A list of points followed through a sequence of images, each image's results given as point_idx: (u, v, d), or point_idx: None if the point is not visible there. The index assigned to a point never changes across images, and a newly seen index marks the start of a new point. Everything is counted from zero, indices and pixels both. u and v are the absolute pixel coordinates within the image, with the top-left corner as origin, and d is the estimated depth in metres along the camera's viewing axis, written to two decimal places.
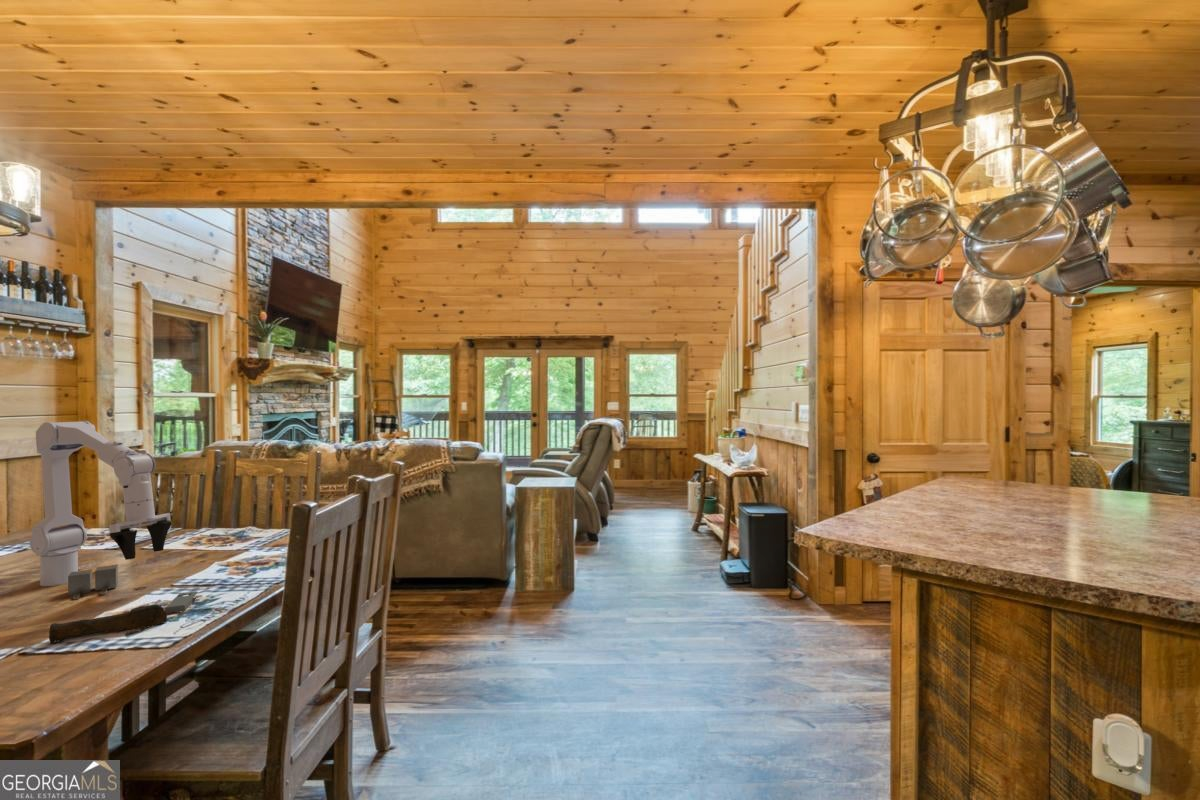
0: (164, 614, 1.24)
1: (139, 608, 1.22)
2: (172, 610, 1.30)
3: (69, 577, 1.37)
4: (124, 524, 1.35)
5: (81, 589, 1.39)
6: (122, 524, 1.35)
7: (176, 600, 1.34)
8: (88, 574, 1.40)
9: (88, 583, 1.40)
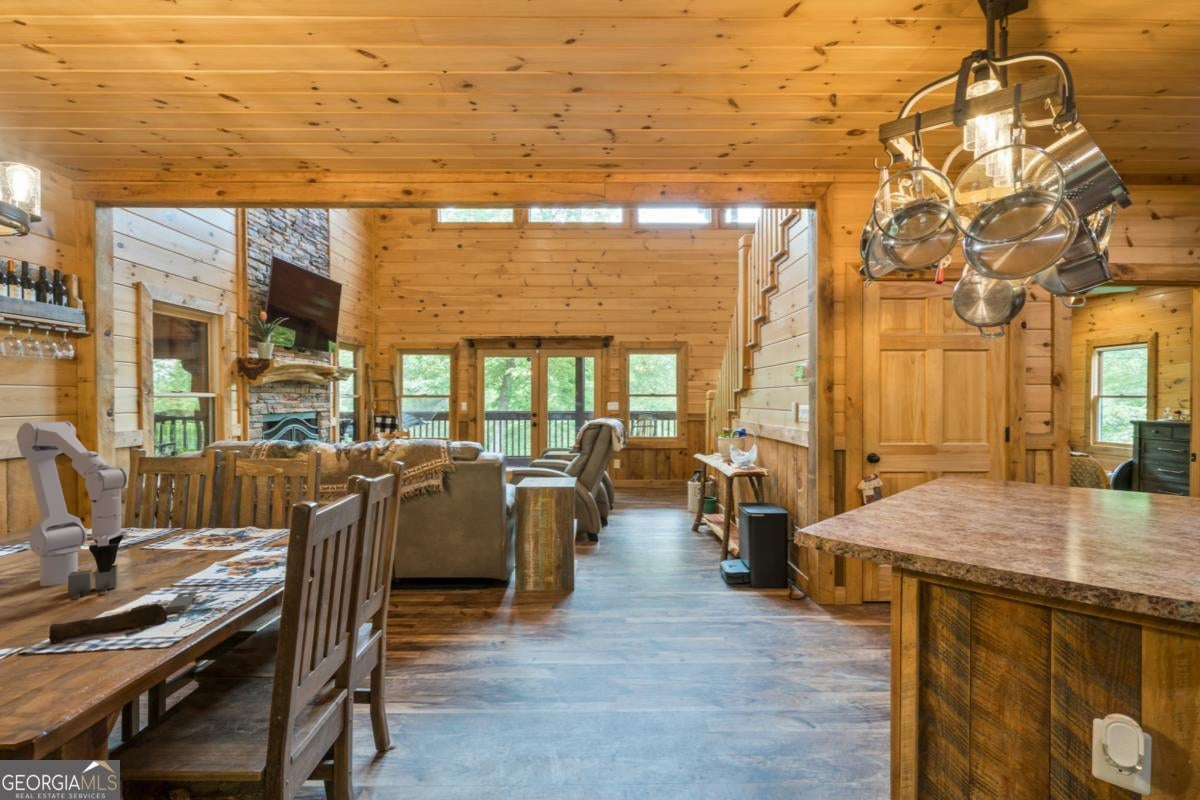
0: (164, 613, 1.24)
1: (139, 607, 1.22)
2: (172, 610, 1.30)
3: (69, 577, 1.37)
4: (110, 537, 1.39)
5: (81, 589, 1.39)
6: (109, 537, 1.39)
7: (177, 600, 1.34)
8: (88, 574, 1.40)
9: (88, 583, 1.40)
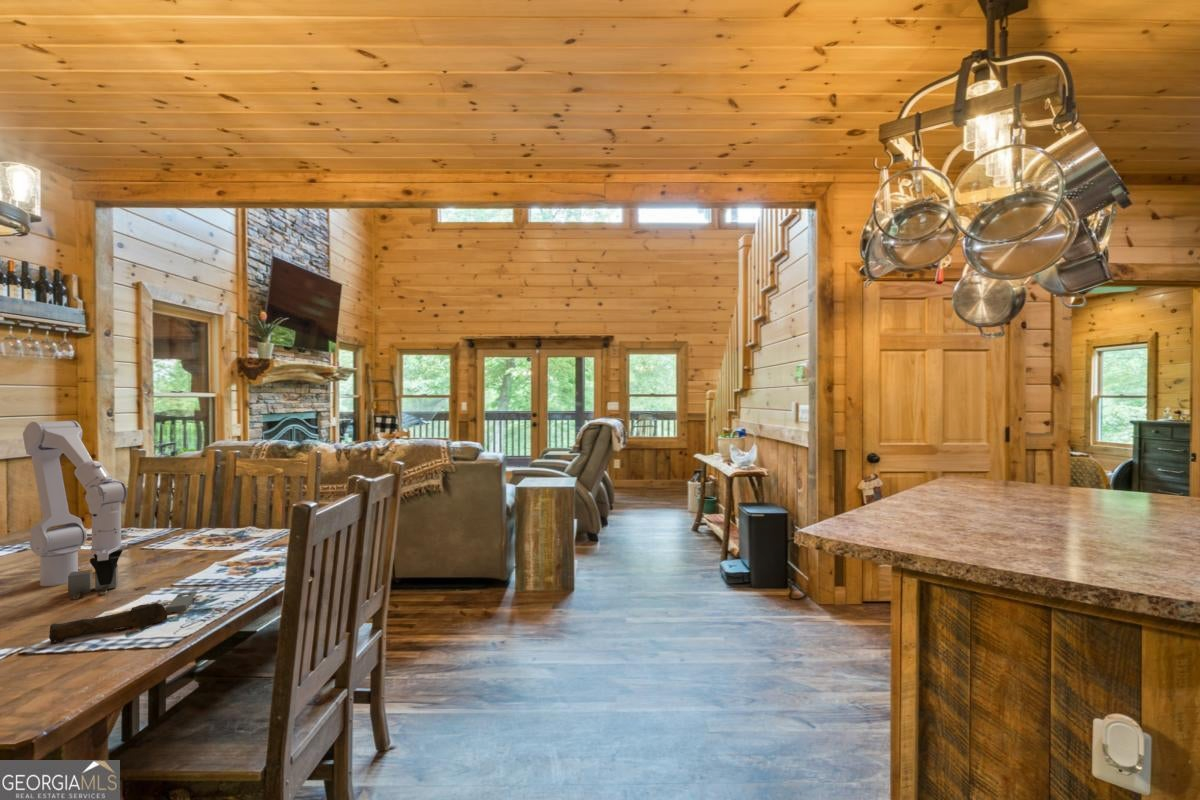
0: (164, 612, 1.25)
1: (139, 607, 1.22)
2: (173, 610, 1.30)
3: (69, 577, 1.37)
4: (110, 552, 1.39)
5: (81, 589, 1.39)
6: (109, 552, 1.39)
7: (177, 600, 1.34)
8: (88, 574, 1.40)
9: (88, 583, 1.40)
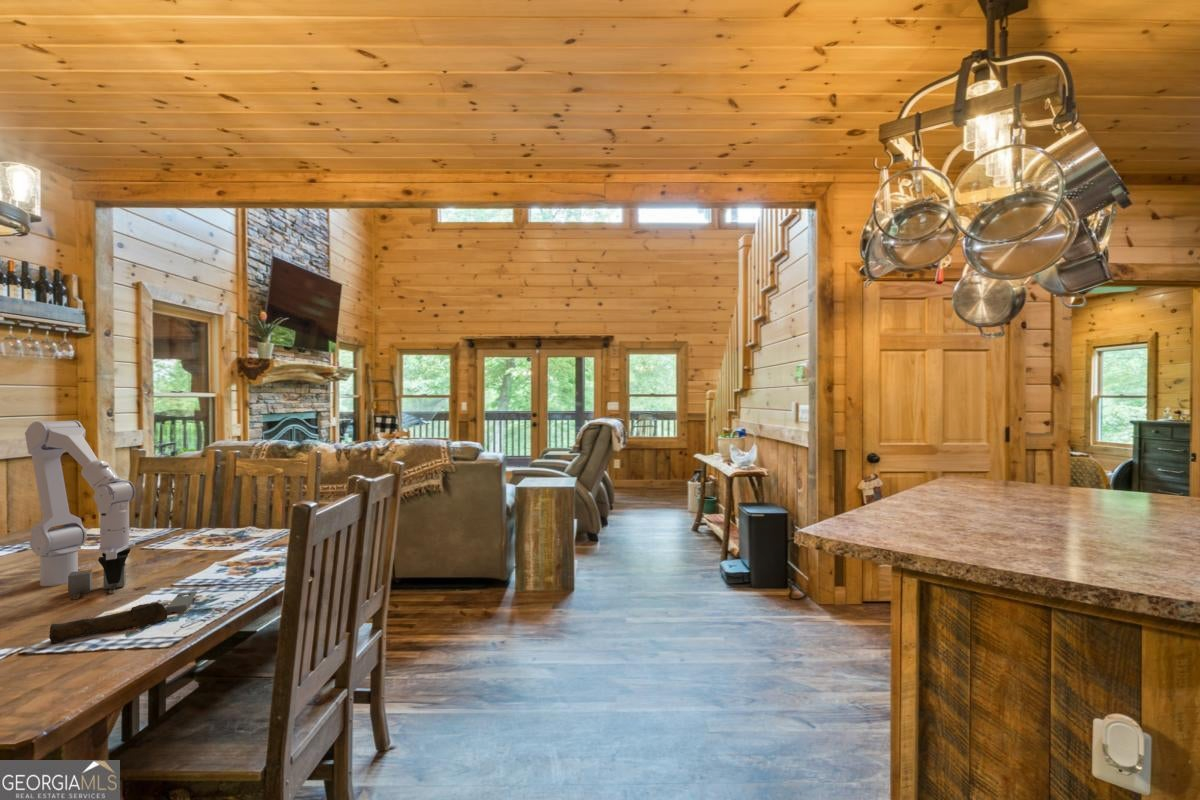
0: (165, 611, 1.25)
1: (140, 606, 1.23)
2: (173, 610, 1.30)
3: (69, 577, 1.37)
4: (118, 551, 1.40)
5: (81, 589, 1.39)
6: (118, 551, 1.40)
7: (177, 599, 1.34)
8: (88, 574, 1.40)
9: (88, 583, 1.40)
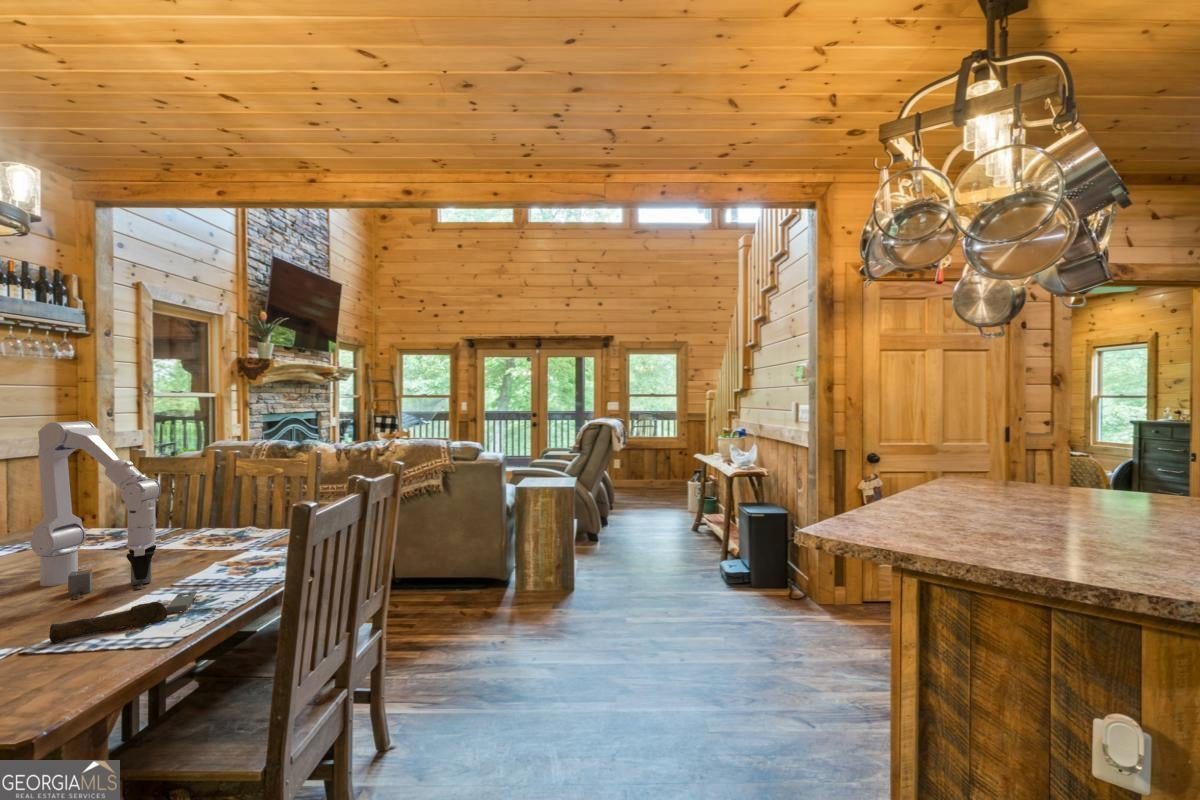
0: (165, 611, 1.26)
1: (139, 606, 1.23)
2: (174, 610, 1.30)
3: (69, 577, 1.37)
4: (146, 547, 1.43)
5: (81, 589, 1.39)
6: (145, 547, 1.43)
7: (177, 599, 1.34)
8: (88, 574, 1.40)
9: (88, 583, 1.40)
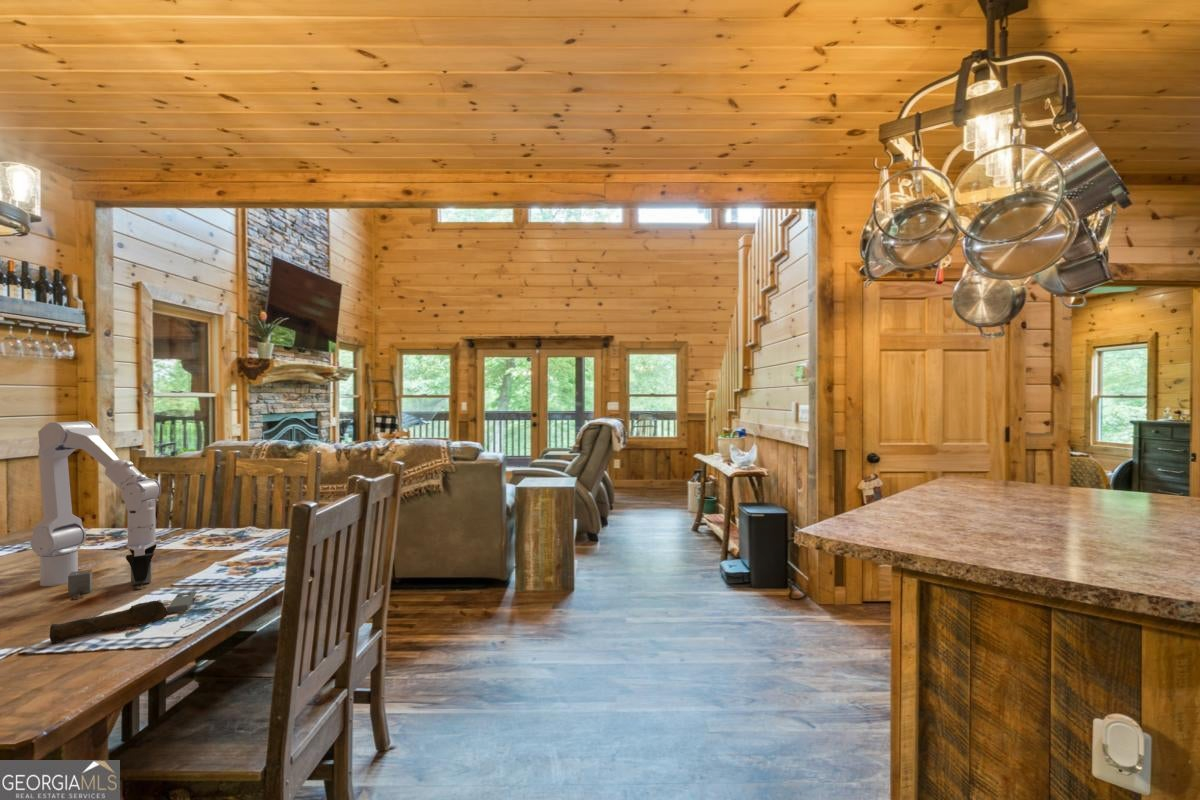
0: (164, 609, 1.27)
1: (139, 605, 1.24)
2: (175, 610, 1.30)
3: (69, 577, 1.37)
4: (146, 547, 1.43)
5: (81, 589, 1.39)
6: (145, 547, 1.43)
7: (177, 600, 1.34)
8: (88, 574, 1.40)
9: (88, 583, 1.40)
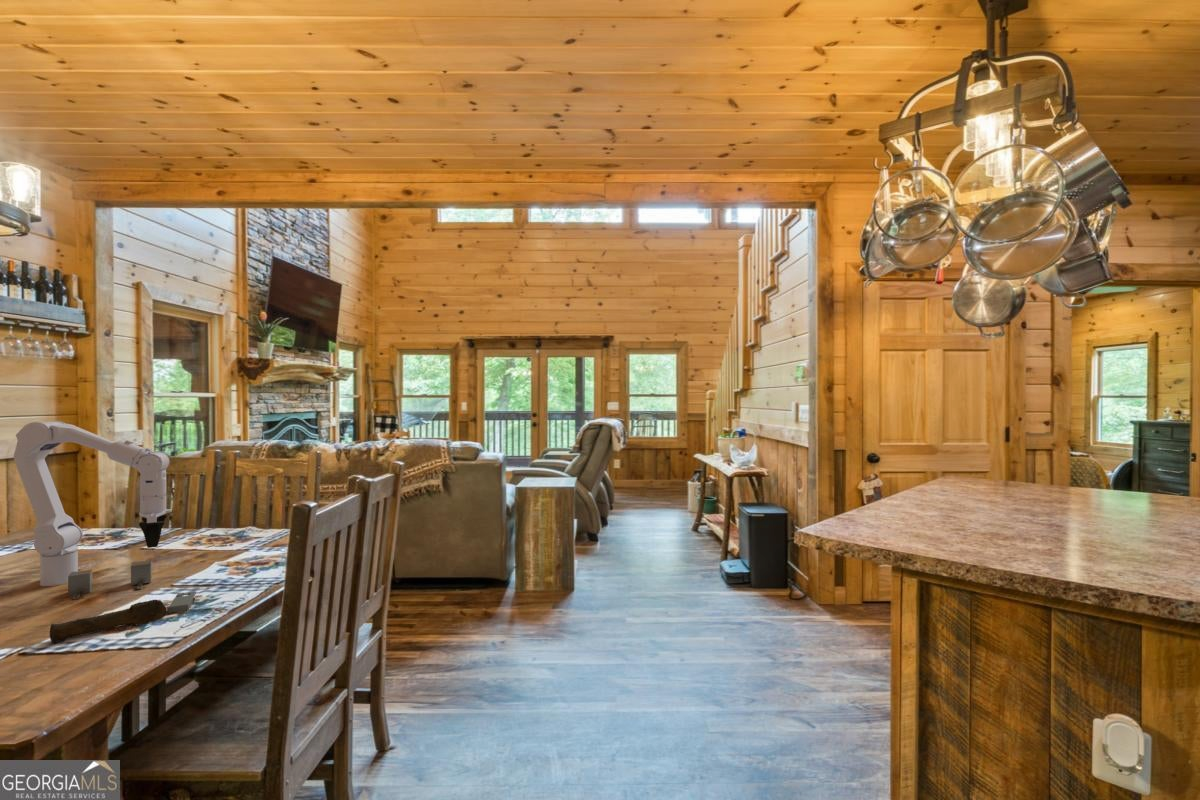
0: (164, 608, 1.27)
1: (139, 604, 1.24)
2: (175, 610, 1.30)
3: (69, 577, 1.37)
4: (158, 515, 1.51)
5: (81, 589, 1.39)
6: (157, 515, 1.51)
7: (177, 599, 1.34)
8: (88, 574, 1.40)
9: (88, 583, 1.40)
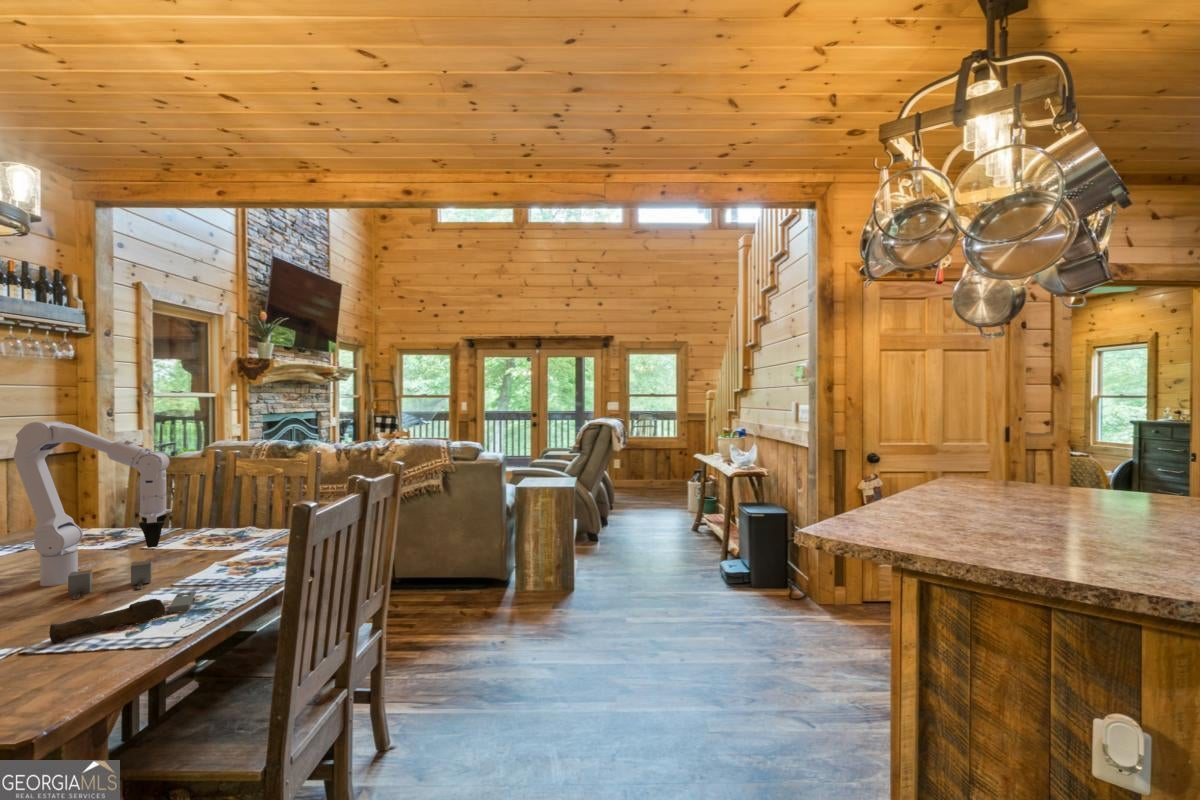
0: (163, 607, 1.28)
1: (138, 603, 1.25)
2: (176, 609, 1.30)
3: (69, 577, 1.37)
4: (158, 515, 1.51)
5: (81, 589, 1.39)
6: (157, 515, 1.51)
7: (178, 599, 1.34)
8: (88, 574, 1.40)
9: (88, 583, 1.40)
